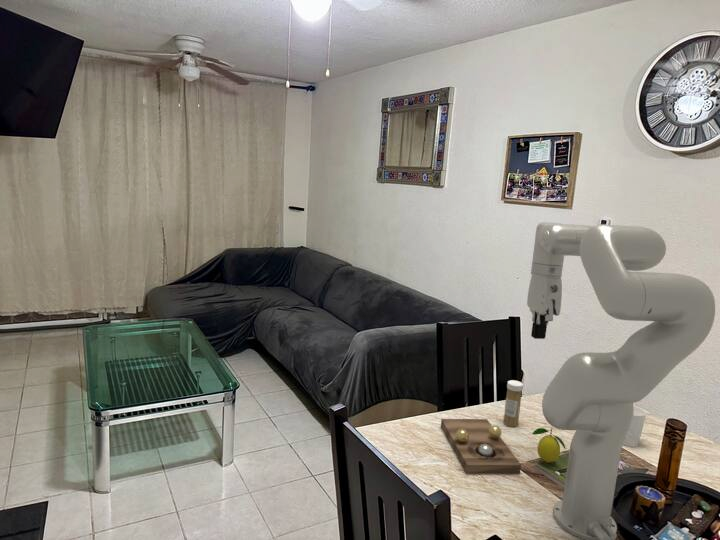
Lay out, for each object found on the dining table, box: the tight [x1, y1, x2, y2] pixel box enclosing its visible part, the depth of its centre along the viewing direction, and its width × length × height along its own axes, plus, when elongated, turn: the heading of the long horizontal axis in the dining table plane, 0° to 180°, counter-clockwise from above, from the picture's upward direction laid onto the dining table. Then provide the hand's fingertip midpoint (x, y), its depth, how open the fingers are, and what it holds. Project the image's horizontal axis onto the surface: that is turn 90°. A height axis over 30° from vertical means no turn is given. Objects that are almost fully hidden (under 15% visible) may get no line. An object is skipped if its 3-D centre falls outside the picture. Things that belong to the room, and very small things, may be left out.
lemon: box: [531, 427, 567, 464], centre depth 127 cm, size 7×6×10 cm
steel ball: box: [477, 444, 493, 458], centre depth 128 cm, size 4×4×4 cm
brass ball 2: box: [488, 425, 502, 439], centre depth 134 cm, size 4×4×4 cm
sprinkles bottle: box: [502, 379, 524, 428], centre depth 148 cm, size 5×5×14 cm
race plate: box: [440, 418, 522, 475], centre depth 133 cm, size 24×14×2 cm, turn 6°
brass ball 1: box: [456, 429, 469, 443], centre depth 131 cm, size 4×4×4 cm
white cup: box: [623, 404, 647, 448], centre depth 142 cm, size 8×8×10 cm
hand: (538, 337), depth 129 cm, fingers closed
